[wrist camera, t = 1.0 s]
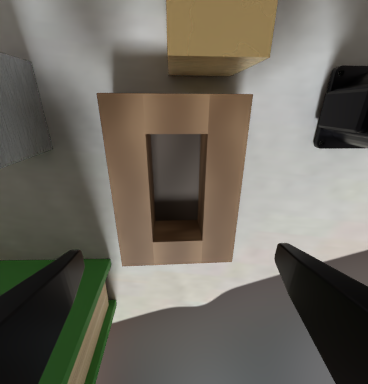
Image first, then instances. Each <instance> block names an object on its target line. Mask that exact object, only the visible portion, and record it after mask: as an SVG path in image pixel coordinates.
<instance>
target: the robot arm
mask: <svg viewBox="0 0 368 384" xmlns="http://www.w3.org/2000/svg"><path fill="white" fill-rule="evenodd" d="M339 71H340V72H341V74H340V76H338V72H339ZM320 141H322V143H321V144H320ZM314 146H315V147H317V148H368V66H340V67H336V68H335V69H334V70H333V71H332V74H331V78H330V82H329V86H328V90H327V94H326V96H325V100H324V104H323V108H322V112H321V116H320V120H319V123H318V129H317V133H316V137H315V141H314ZM275 263H276V265H277V268H278V270H279V273H280V275H281V278H282V280H283V283H284V285H285V287H286V290H287V292H288V294H289V296H290V298H291V300H292V302H293V304H294V306H295V308H296V309H297V311H298V313H299V315H300V317H301V319H302V321H303V323H304V325H305V327H306V328H307V330H308V332H309V334H310V336H311V338H312V340H313V342H314V344H315V346H316V347H317V349H318V351H319V353H320V355H321V357H322V359H323V361H324V362H325V364H326V366H327V368H328V370H329V372H330V374H331V376H332V378H333V380H334V381H335V383H336V384H368V286H366V285H364V284H362V283H360V282H358V281H357V280H355V279H353V278H351V277H349V276H347V275H346V274H344V273H342V272H340V271H338V270H336V269H334V268H332V267H331V266H329V265H327V264H325V263H323V262H322V261H320V260H318V259H316V258H314V257H312V256H311V255H309V254H307V253H305V252H303V251H301V250H300V249H298V248H296V247H294V246H292V245H290V244H288V243H279V244H278V245H277V249H276V253H275ZM84 268H85V264H84V259H83V255H82V252H81V250H70V251H68V252H67V253H65V254H64V255H62V256H61V257H59V258H57V259H56V260H54V261H53V262H51V263H50V264H48V265H47V266H45V267H44V268H42V269H41V270H39V271H37V272H36V273H34V274H33V275H31V276H30V277H28V278H27V279H25V280H24V281H22V282H20V283H19V284H17V285H16V286H14V287H13V288H11V289H10V290H8V291H7V292H5V293H3V294H2V295H0V384H38V383H39V381H40V379H41V376H42V374H43V372H44V370H45V367H46V365H47V363H48V360H49V358H50V356H51V354H52V351H53V349H54V347H55V344H56V342H57V340H58V338H59V335H60V333H61V331H62V328H63V326H64V324H65V322H66V319H67V317H68V315H69V312H70V310H71V308H72V305H73V303H74V300H75V297H76V294H77V291H78V288H79V284H80V281H81V278H82V275H83V272H84Z"/></svg>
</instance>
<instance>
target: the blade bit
mask: <svg viewBox="0 0 368 384" xmlns="http://www.w3.org/2000/svg"><path fill="white" fill-rule="evenodd" d="M51 149H53V147H52V143H51V139H50V135H49V131H48V127H47V123H46V119H45V115H44V111H43V107H42V103H41V99H40V95H39V91H38V87H37V83H36V79H35V75H34V71H33V67H32V63H31V62H30V61H27V60H24V59H20V58H17V57H14V56H11V55H8V54H4V53H1V52H0V168H3V167H6V166H8V165H11V164H14V163H16V162H19V161H22V160H24V159H27V158H30V157H33V156H35V155H38V154H41V153H43V152H46V151H49V150H51Z"/></svg>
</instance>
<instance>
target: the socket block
mask: <svg viewBox="0 0 368 384" xmlns="http://www.w3.org/2000/svg"><path fill="white" fill-rule="evenodd" d="M252 98H253V94H158V93H97V99H98V106H99V113H100V119H101V126H102V133H103V140H104V146H105V153H106V160H107V166H108V173H109V180H110V187H111V193H112V200H113V207H114V214H115V220H116V227H117V234H118V241H119V247H120V254H121V261H122V266H142V265H167V264H192V263H217V262H232V257H233V249H234V241H235V233H236V225H237V218H238V210H239V202H240V194H241V186H242V178H243V170H244V162H245V154H246V146H247V138H248V130H249V122H250V114H251V106H252Z"/></svg>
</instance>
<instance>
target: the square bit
mask: <svg viewBox="0 0 368 384" xmlns="http://www.w3.org/2000/svg"><path fill="white" fill-rule="evenodd" d="M277 3H278V0H166V10H167V54H168V73H169V75H187V76H232V75H234V74H236V73H238V72H240V71H242V70H245V69H247V68H249V67H251V66H253V65H255V64H257V63H259V62H261V61H263V60H265V59H267V58H270V51H271V45H272V38H273V31H274V24H275V17H276V10H277Z"/></svg>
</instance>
